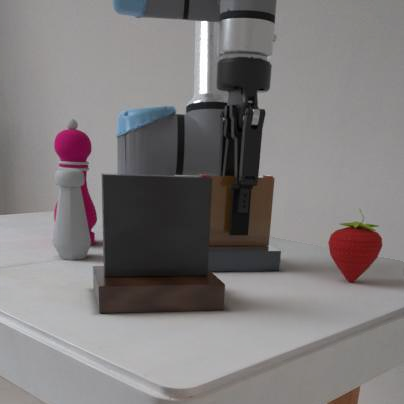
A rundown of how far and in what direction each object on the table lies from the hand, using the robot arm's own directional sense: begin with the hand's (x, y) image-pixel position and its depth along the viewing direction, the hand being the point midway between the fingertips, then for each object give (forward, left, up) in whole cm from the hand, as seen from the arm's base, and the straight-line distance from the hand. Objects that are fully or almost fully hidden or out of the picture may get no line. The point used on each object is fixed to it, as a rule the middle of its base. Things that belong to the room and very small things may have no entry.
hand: (233, 231), depth 86 cm
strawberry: (+12, +14, -5) cm, 19 cm away
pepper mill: (-18, -23, -5) cm, 30 cm away
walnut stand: (+19, -15, -5) cm, 25 cm away
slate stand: (0, 0, -5) cm, 5 cm away
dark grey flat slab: (+19, -15, -2) cm, 24 cm away
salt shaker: (-6, -24, -5) cm, 25 cm away
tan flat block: (0, 0, -2) cm, 2 cm away
